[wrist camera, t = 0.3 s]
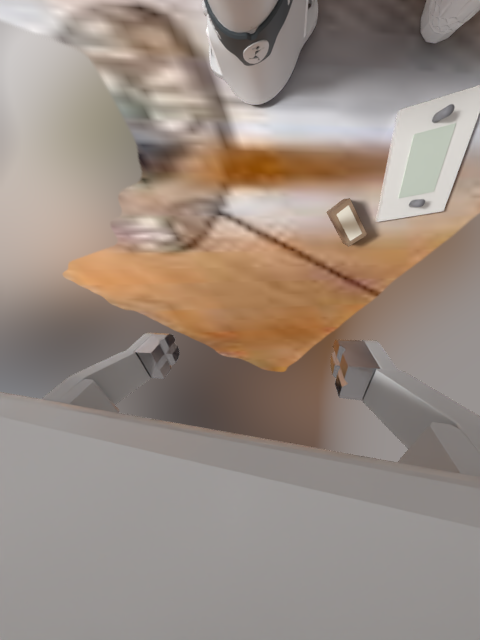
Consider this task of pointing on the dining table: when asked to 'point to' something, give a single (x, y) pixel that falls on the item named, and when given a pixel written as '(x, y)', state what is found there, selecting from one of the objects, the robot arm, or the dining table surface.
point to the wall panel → (427, 154)
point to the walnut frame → (347, 222)
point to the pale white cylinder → (446, 17)
